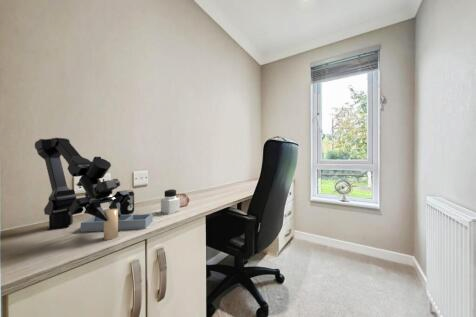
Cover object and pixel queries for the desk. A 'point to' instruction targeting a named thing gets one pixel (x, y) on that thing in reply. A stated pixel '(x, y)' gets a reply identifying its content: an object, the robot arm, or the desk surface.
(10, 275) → the desk surface
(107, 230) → the pin
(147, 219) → the blue-grey compartment tray
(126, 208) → the beverage can
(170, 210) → the medicine bottle
